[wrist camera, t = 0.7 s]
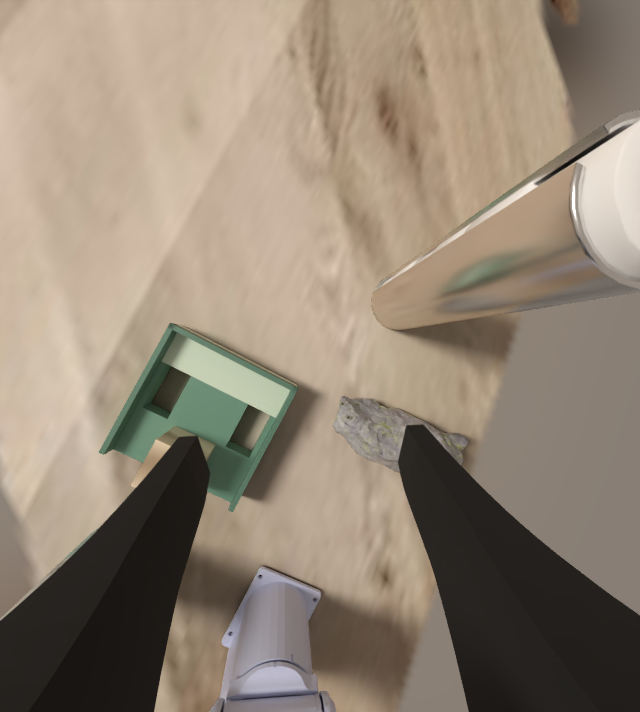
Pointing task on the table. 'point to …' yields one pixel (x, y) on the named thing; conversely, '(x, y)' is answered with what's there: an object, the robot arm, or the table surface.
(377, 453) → the rock
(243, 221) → the table surface
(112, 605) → the robot arm
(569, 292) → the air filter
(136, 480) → the beech block
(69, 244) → the table surface
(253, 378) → the box
